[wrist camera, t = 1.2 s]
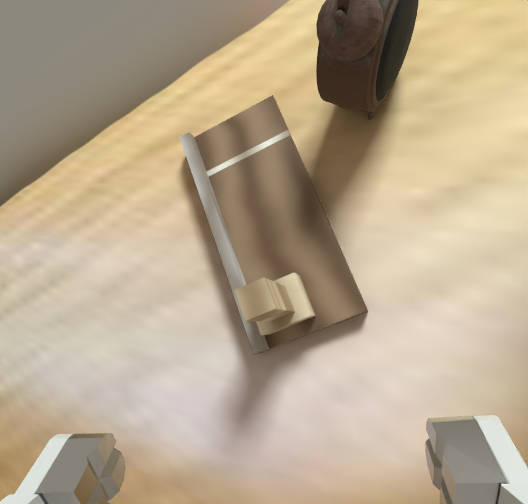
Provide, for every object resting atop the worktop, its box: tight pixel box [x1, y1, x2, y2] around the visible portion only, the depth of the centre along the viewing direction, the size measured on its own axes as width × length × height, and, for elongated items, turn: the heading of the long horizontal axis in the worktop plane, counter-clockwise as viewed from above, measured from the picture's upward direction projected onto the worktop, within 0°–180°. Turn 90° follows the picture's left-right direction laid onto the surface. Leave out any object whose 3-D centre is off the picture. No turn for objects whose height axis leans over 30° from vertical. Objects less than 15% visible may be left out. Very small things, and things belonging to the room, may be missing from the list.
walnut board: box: [180, 95, 368, 354], centre depth 48 cm, size 14×30×4 cm, turn 20°
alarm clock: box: [317, 0, 418, 120], centre depth 39 cm, size 15×7×20 cm, turn 154°
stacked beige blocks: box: [235, 272, 316, 335], centre depth 39 cm, size 6×5×11 cm
